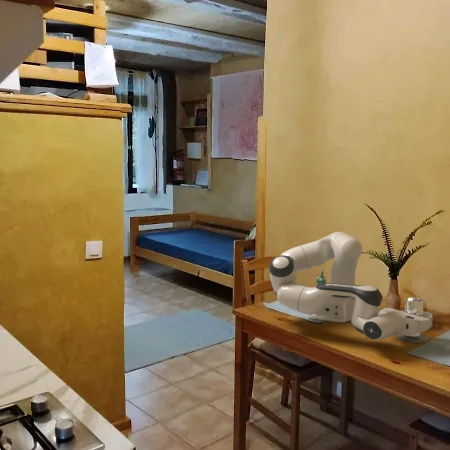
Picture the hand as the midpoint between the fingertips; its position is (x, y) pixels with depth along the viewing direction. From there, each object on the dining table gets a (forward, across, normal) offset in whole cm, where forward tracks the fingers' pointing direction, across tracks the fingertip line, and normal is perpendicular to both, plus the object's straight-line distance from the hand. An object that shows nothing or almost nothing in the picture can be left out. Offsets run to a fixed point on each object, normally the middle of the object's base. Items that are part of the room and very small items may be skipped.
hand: (414, 314), depth 206 cm
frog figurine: (+18, -64, -10) cm, 67 cm away
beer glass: (-1, 0, -8) cm, 9 cm away
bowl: (+15, -6, -10) cm, 19 cm away
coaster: (-1, 0, -10) cm, 10 cm away
